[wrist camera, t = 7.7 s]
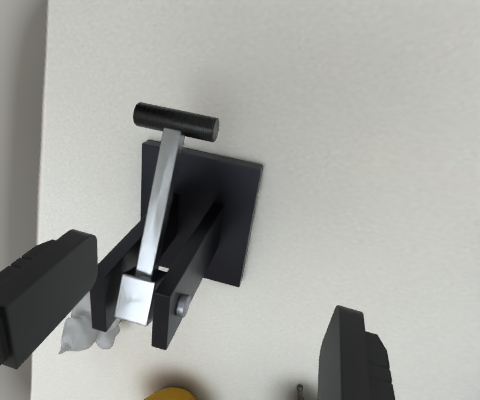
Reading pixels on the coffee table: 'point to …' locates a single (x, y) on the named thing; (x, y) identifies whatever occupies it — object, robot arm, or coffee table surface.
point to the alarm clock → (300, 392)
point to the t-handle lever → (158, 205)
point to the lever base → (185, 237)
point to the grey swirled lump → (85, 330)
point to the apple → (172, 394)
